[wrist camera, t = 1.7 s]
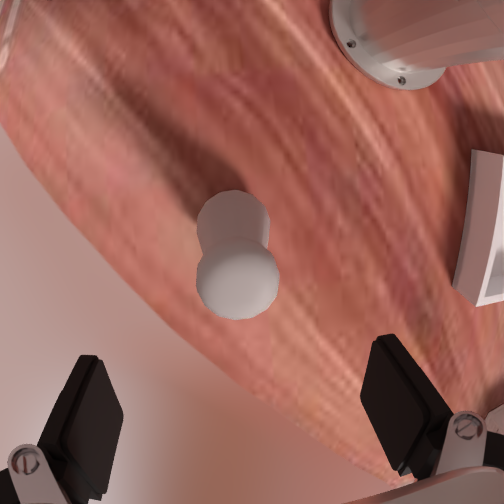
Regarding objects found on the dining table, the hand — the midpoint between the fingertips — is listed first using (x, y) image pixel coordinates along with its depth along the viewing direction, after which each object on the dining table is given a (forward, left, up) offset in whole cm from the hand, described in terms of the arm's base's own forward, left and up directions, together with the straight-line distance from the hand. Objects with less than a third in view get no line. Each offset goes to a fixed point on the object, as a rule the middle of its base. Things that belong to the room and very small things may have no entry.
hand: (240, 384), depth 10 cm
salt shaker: (0, 0, -19) cm, 19 cm away
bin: (+1, +35, -19) cm, 40 cm away
